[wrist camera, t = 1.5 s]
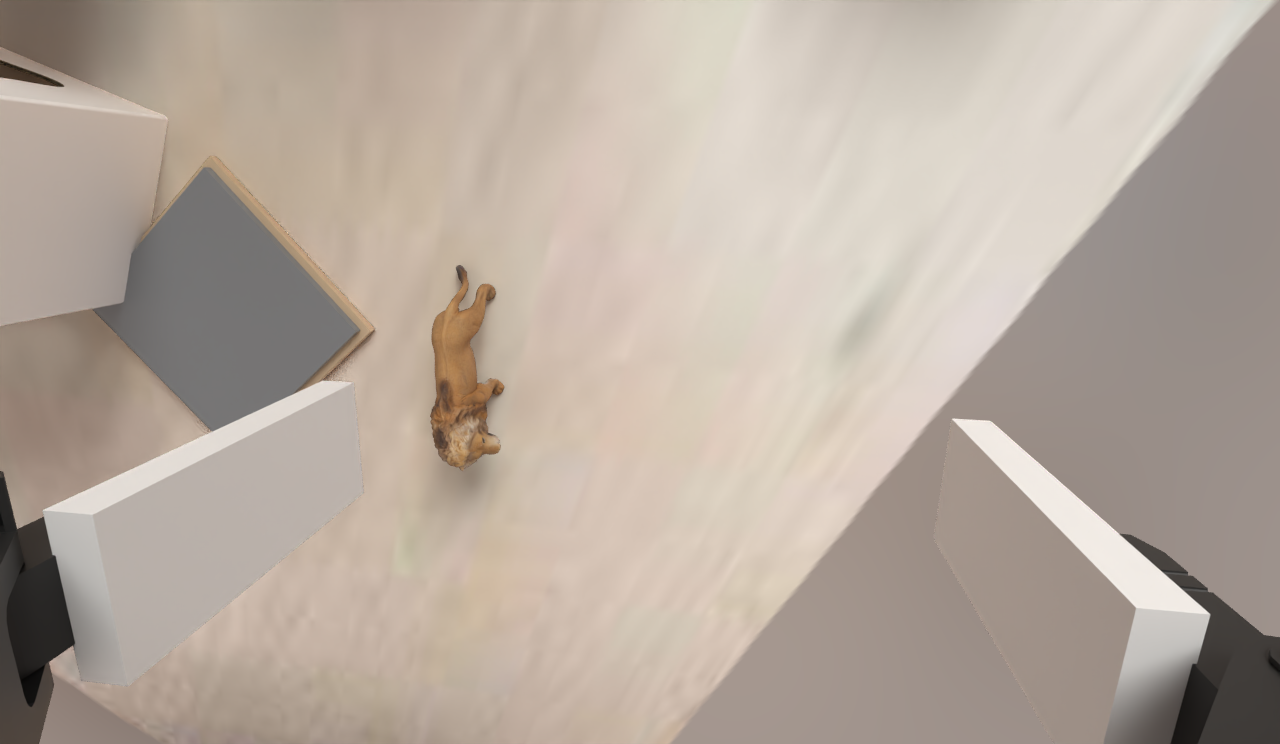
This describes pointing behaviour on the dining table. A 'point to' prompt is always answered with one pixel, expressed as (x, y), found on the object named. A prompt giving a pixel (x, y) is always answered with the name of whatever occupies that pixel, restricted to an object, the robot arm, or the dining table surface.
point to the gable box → (71, 191)
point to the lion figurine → (461, 382)
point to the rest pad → (230, 304)
